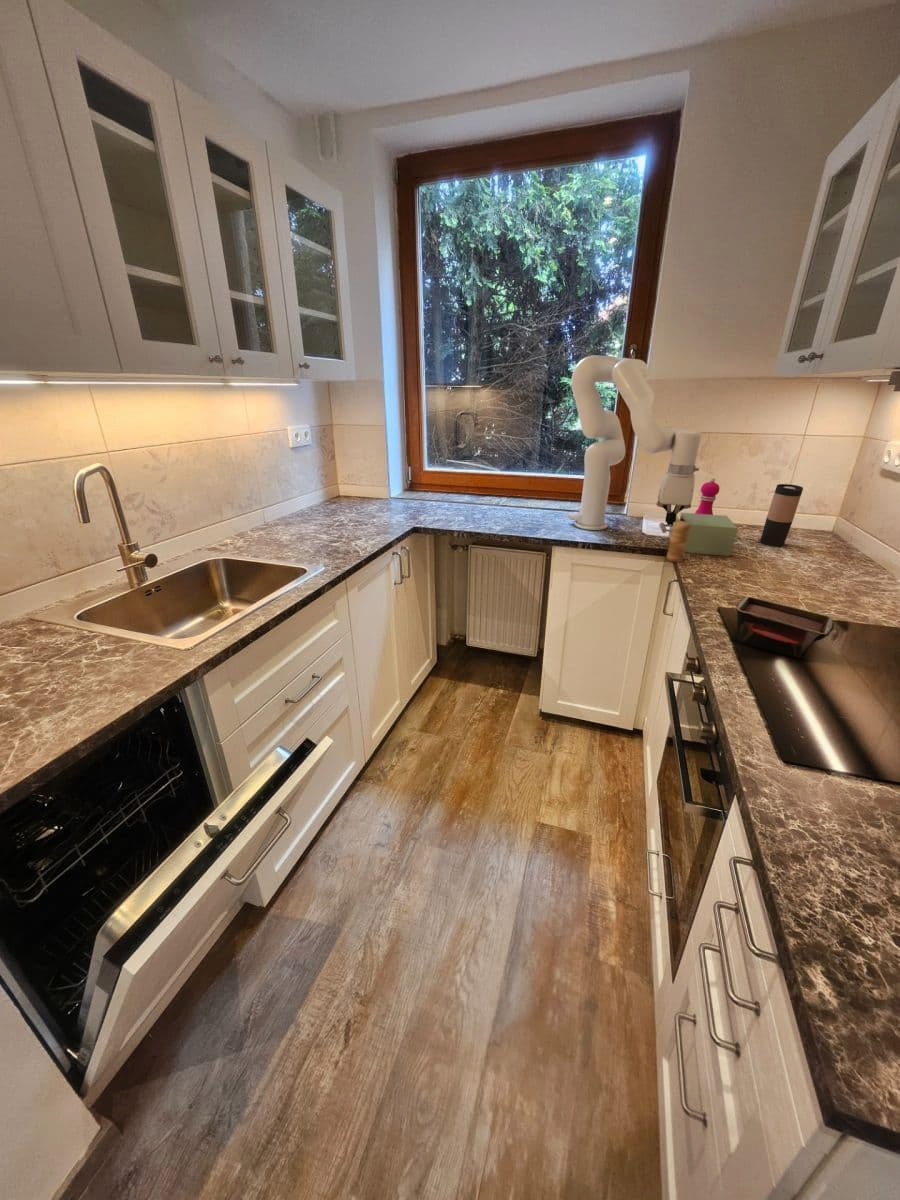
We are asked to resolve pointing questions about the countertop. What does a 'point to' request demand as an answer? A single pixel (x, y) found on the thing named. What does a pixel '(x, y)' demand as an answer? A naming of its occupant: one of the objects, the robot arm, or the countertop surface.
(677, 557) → the cork textured cylinder
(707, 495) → the pepper mill
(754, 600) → the baking dish
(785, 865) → the countertop surface
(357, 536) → the countertop surface
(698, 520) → the cabinet
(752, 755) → the countertop surface
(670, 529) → the drawer
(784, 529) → the travel mug
